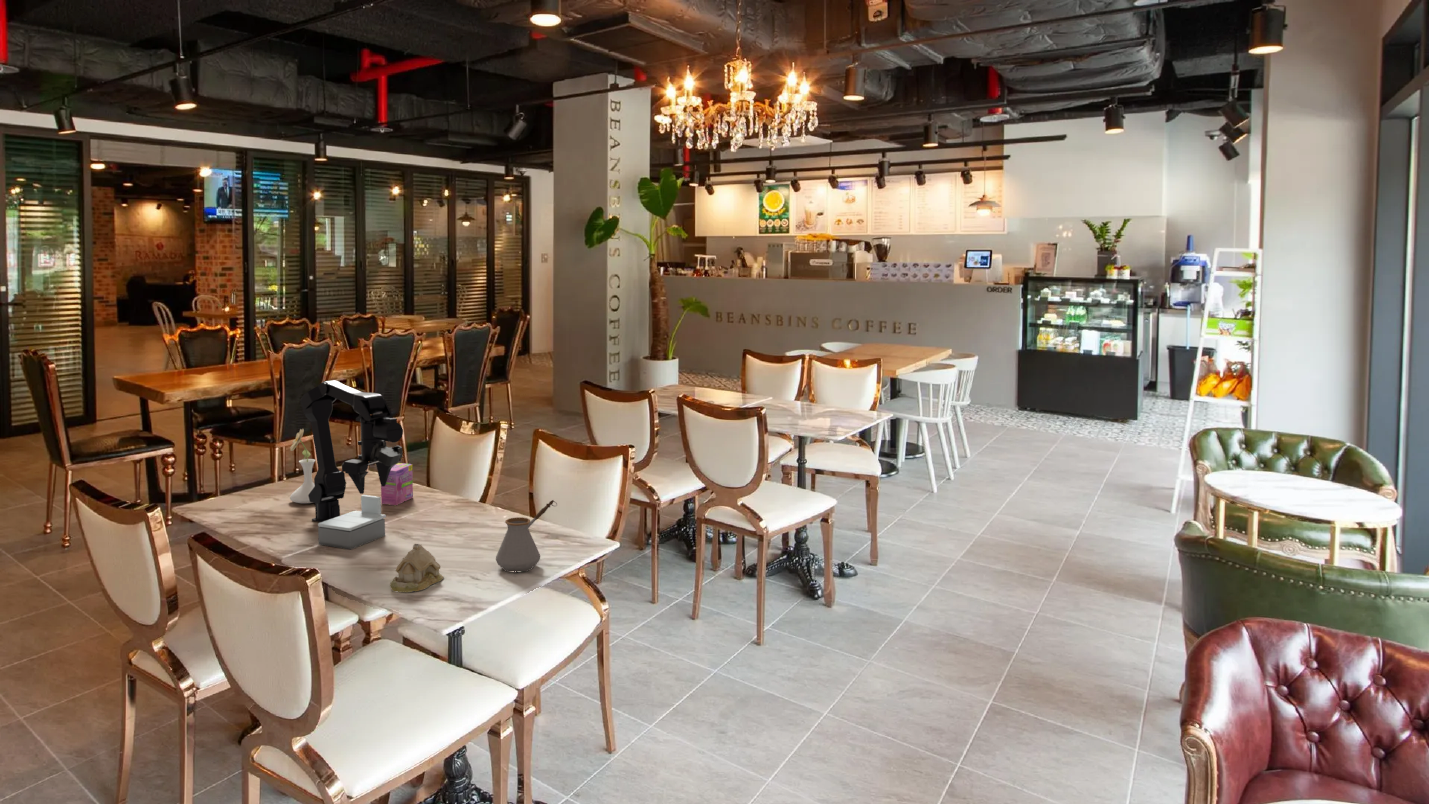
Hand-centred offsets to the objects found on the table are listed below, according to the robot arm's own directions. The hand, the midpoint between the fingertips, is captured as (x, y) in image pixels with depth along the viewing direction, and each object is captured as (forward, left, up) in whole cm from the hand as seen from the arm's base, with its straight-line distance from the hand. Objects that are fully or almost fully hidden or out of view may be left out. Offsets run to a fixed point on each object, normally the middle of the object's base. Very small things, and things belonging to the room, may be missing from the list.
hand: (372, 489), depth 256 cm
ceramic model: (+38, -29, -13) cm, 50 cm away
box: (-16, +30, -13) cm, 37 cm away
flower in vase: (-41, +17, -13) cm, 47 cm away
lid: (0, -8, -7) cm, 11 cm away
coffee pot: (+56, -5, -13) cm, 57 cm away
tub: (0, -9, -13) cm, 15 cm away
